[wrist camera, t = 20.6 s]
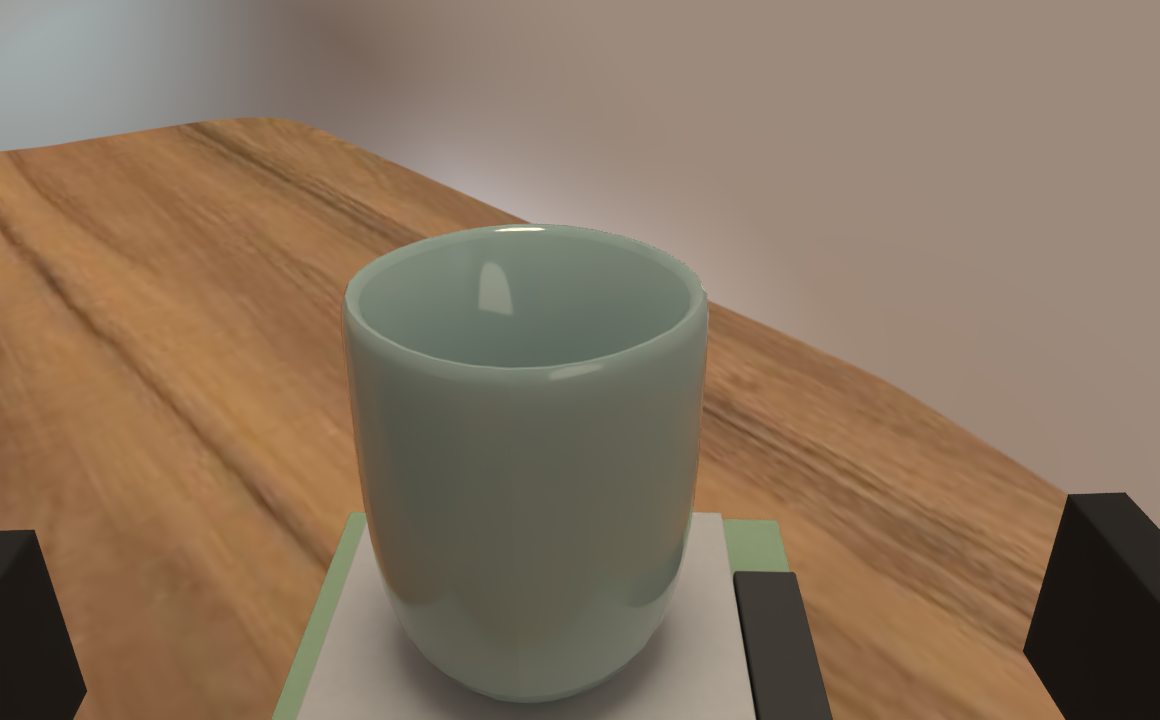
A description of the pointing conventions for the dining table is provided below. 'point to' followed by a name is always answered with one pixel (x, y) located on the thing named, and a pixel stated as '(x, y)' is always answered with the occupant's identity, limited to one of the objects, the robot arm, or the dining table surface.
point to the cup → (527, 447)
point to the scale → (617, 705)
